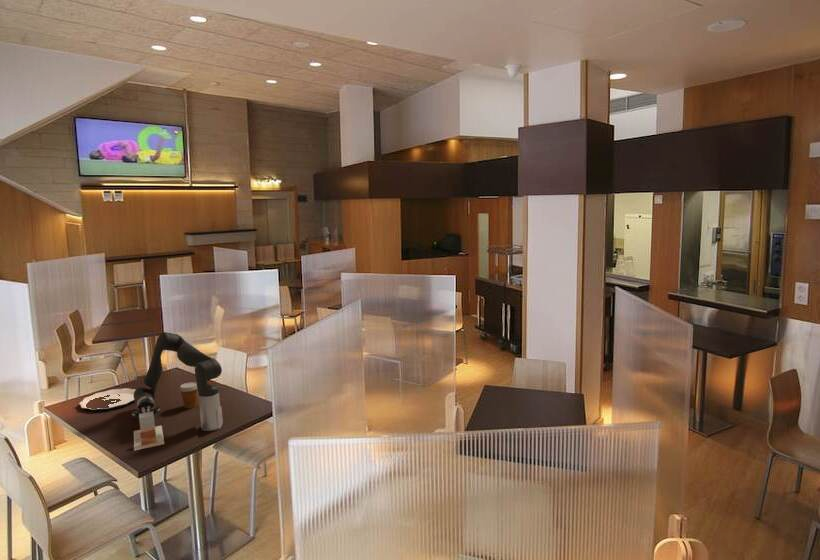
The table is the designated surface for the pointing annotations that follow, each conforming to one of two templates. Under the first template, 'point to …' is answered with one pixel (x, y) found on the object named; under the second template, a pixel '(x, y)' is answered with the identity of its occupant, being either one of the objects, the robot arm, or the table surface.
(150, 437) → the block
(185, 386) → the disposable coffee cup
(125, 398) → the plate
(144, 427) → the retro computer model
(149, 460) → the table surface
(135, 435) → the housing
